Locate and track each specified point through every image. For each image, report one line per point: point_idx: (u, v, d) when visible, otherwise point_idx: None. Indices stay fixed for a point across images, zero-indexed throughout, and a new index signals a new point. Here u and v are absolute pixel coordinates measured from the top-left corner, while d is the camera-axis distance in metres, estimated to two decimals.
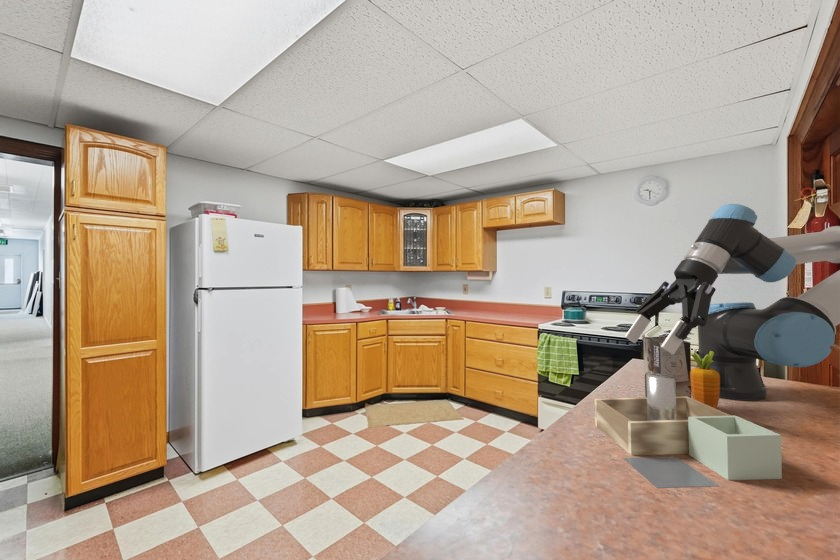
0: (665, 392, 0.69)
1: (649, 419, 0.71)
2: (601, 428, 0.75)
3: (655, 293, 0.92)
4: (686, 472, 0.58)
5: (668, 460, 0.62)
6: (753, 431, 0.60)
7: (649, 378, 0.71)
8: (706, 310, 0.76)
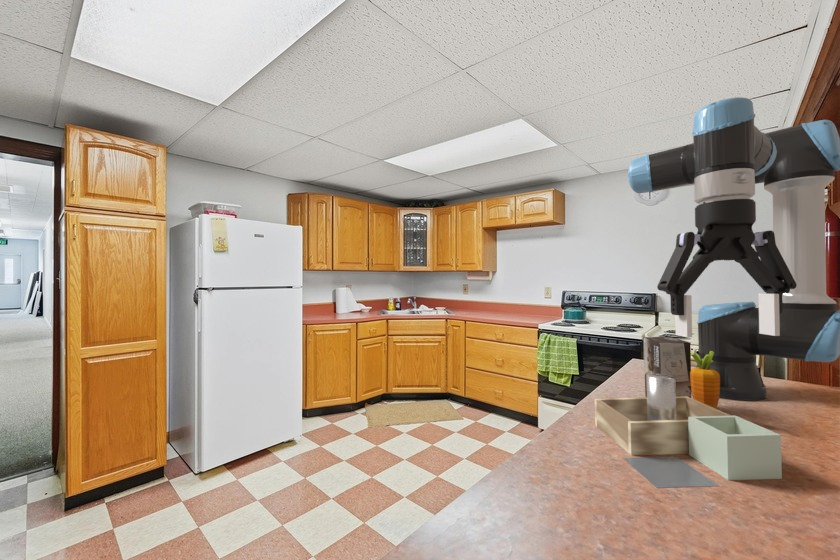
0: (665, 392, 0.69)
1: (649, 419, 0.71)
2: (601, 428, 0.75)
3: (686, 254, 0.59)
4: (686, 472, 0.58)
5: (668, 460, 0.62)
6: (753, 431, 0.60)
7: (649, 378, 0.71)
8: None
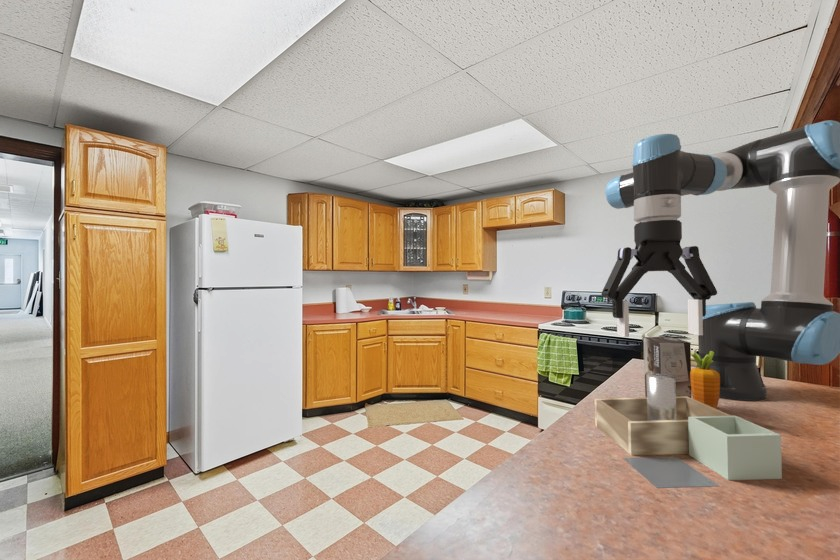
0: (665, 392, 0.69)
1: (649, 419, 0.71)
2: (601, 428, 0.75)
3: (624, 266, 0.69)
4: (686, 472, 0.58)
5: (668, 460, 0.62)
6: (753, 431, 0.60)
7: (649, 378, 0.71)
8: None
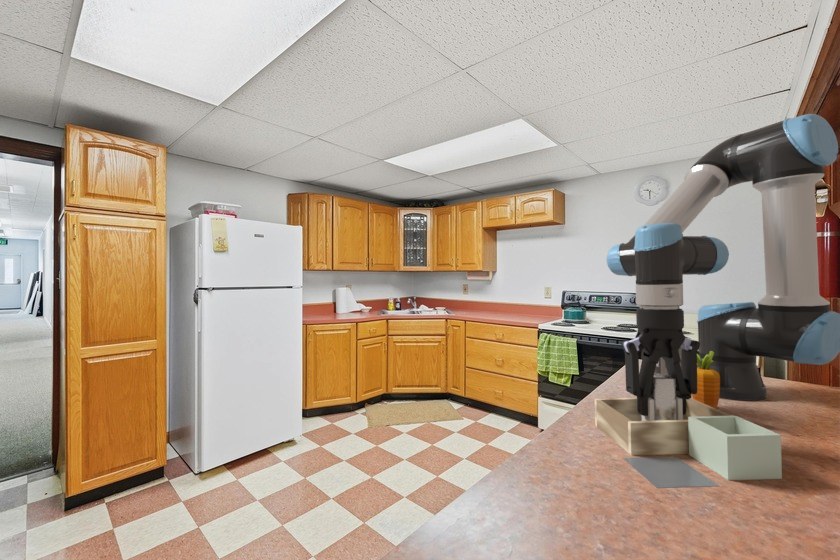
0: (666, 392, 0.69)
1: None
2: (601, 428, 0.75)
3: (636, 362, 0.69)
4: (686, 472, 0.58)
5: (668, 460, 0.62)
6: (753, 431, 0.60)
7: None
8: None
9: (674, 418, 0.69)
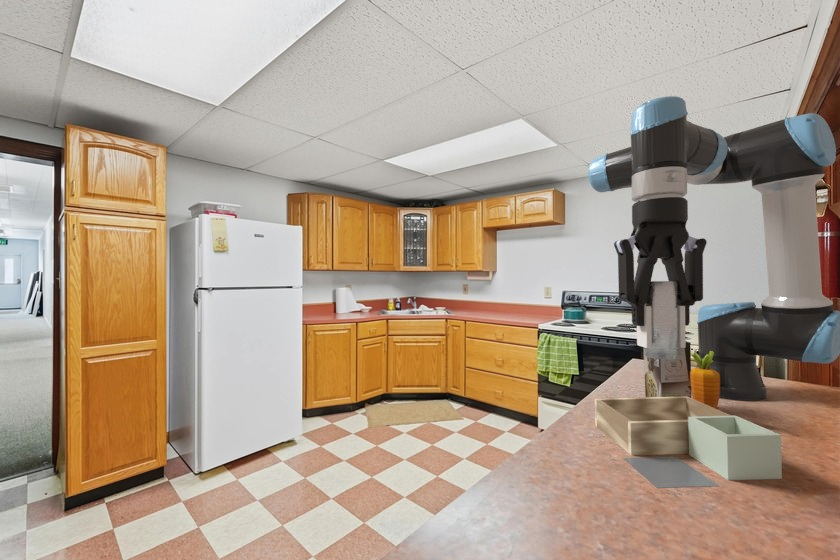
0: (665, 296, 0.58)
1: None
2: (601, 428, 0.75)
3: (630, 261, 0.59)
4: (686, 472, 0.58)
5: (668, 460, 0.62)
6: (753, 431, 0.60)
7: None
8: None
9: (675, 327, 0.58)
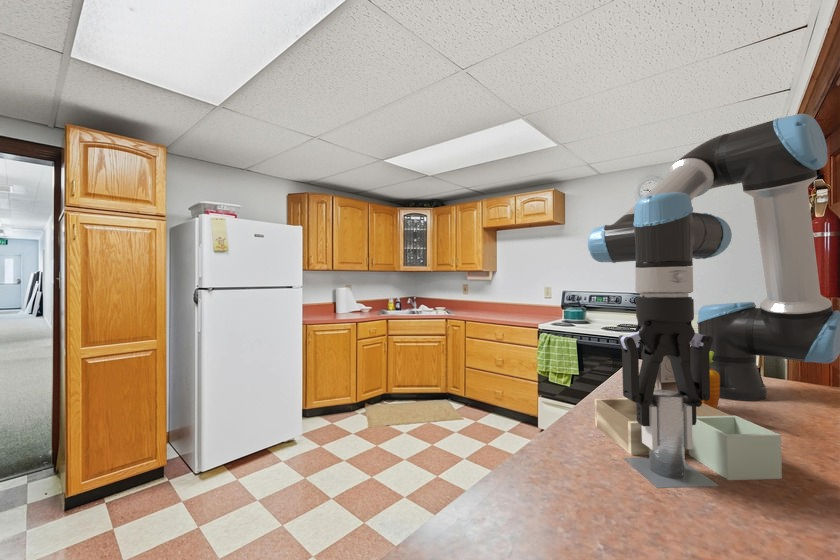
0: (671, 413, 0.56)
1: None
2: (601, 428, 0.75)
3: (635, 361, 0.57)
4: (686, 472, 0.58)
5: None
6: (753, 431, 0.60)
7: None
8: None
9: (681, 445, 0.57)
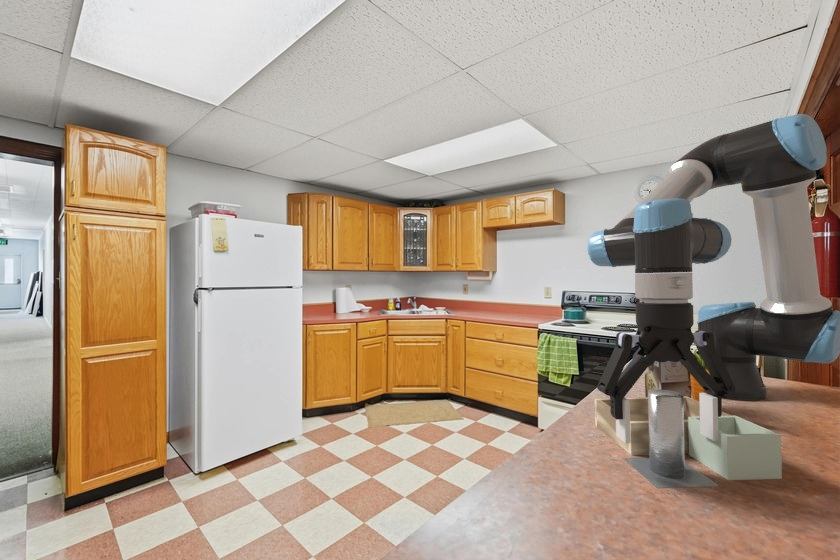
0: (671, 414, 0.56)
1: (651, 445, 0.59)
2: (601, 428, 0.75)
3: (624, 358, 0.57)
4: (686, 472, 0.58)
5: None
6: (753, 431, 0.60)
7: (651, 396, 0.58)
8: None
9: (681, 445, 0.57)
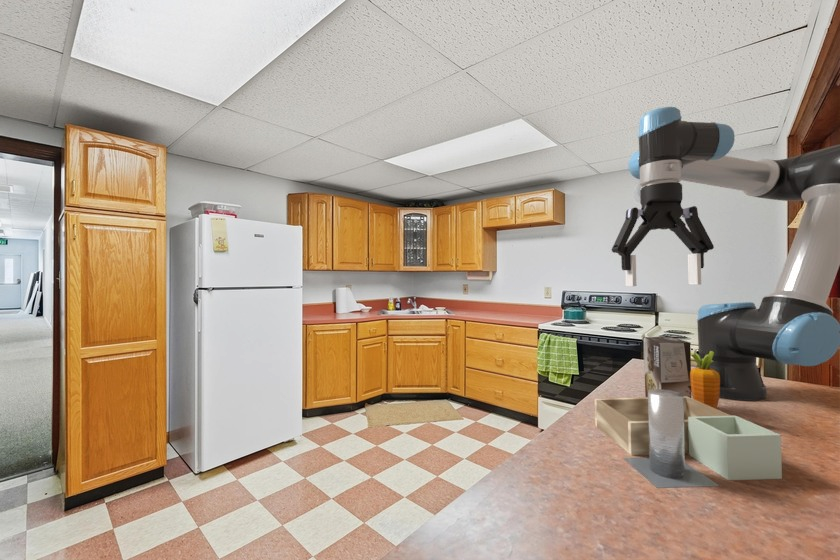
0: (671, 414, 0.56)
1: (651, 445, 0.59)
2: (601, 428, 0.75)
3: (632, 224, 0.79)
4: (686, 472, 0.58)
5: None
6: (753, 431, 0.60)
7: (651, 396, 0.58)
8: None
9: (681, 445, 0.57)
